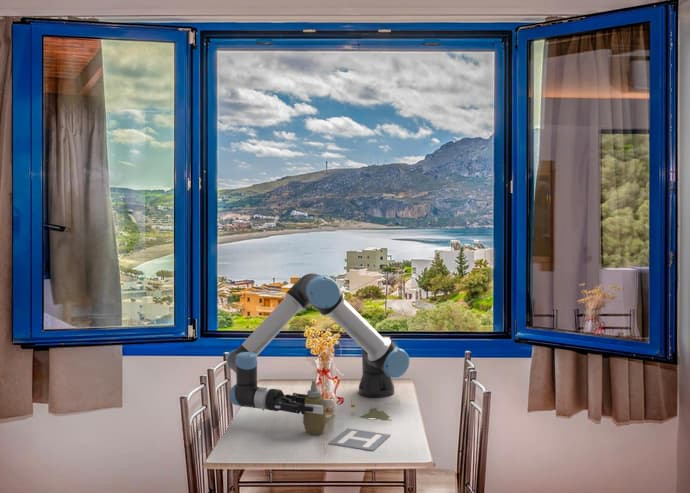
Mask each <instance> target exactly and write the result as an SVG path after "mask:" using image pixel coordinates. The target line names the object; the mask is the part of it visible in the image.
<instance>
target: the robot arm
mask: <svg viewBox="0 0 690 493" xmlns="http://www.w3.org/2000/svg"><path fill="white" fill-rule="evenodd" d="M310 305H311V306H313V307H314V308H315V310H316V311H318V312H319V313H320V314H321V315H322V316H329V317H330V319H332V321H334V322H335V324H337V325H338V326H339V327H340V328H341V329H342V330H343V331H344V332H345V334H348V336H349V337H350V338H351V339H352V340H353V341H355V342H356V343H357V345H359V346H360V347H361V356H362V357H361V359H362V360H361V362H362V363H361V364H362V366H361V367H362V370H361V371H362V373H361V374H362V375H361V378H360V381H359V385H358V393H359V395H361V396H364V397H368V398H386V397H390V396H392V395H394V394H395V385H394V382H393V380H392V379H393V378H395V379H396V378H400V377H402V376H404V374H405V373H406V372H407V371H408V369H409V367H410V356H409V354H408V353H407V352H406V351H405V350H404V349H403V348H400V347H398V345H397V344H395V342H394V341H392V340H391V338H389V337H386V336H385V337H383V336H382V335H381V334H380V333H379V332H378V331H377V330H376V329H375V328H374V327H373V326H372V325H370V323H369V322H368V321H367V320H366V319H365V318H364V317H363V316H362V315H361V314H360V313H359V312H358V311H357V310H356V309H354V307H352V305H351V304H349V302H348V301H346V300H345V293H344V291H343V290H341V289H340V287H339V284H338V282H336V281H335V280H334V279H333V278H331V277H330V276H327V275H321V274H317V273H306V274H304V275H302V276H301V277H300V278H299V279H298V280H297V281H296V282H295V283H293V285H292V286H291V287H290V288H289V289H288V290H287V291H286V293H285V297H284V298H283V300H281V302H280V303H278V305H277V306H276V307H275V308H274V309H273V310H272V311H271V312H270V313H269V314H268V316H266V318H265V319H264V320H262V322H261V323H260V324H259V325H258V326H257V328H255V330H253V332H252V333H250V335H249V336H248V337H247V338H245V340H244V341H243V342H242V344H240V346H239V347H238V348H237V349H233V350H231V351H230V352H229V353H228V355H227V358H226V362H227V365H228V366H229V368H230V369H231V371H233V372H234V373H235V376H236V377H235V378H236V384H234V385H233V386H232V387H231V388H230V393H229V400H230V403H231V404H232V405H235V406H239V407H244V408H252V409H260V410H262V411H266V410H268V411H273V412H279V411H282V412H285V413H286V412H288V413H293V414H301V415H304V411H305V412H309V413H316V414H323V406H321V405H314V404H305V406H304V403H305V398H306V397H308V396H307V394H306V393H305V394H303V393H298V392H293V393H292V394H285V393H284V392H283V390H281V389H280V388H279V389H278V388H271V387H263V386H258V358H257V357H258V356H259V355H260V354H261V352H262V351H263V350H264V349H265V348H266V347H267V346H268V345H269V344H270V343H271V342H272V341H273V340H274V338H275V337H276V336H277V335H278V334H280V332H281V331H282V330H283V329H284V328H285V327H286V325H287V324H288V323H289V322H290V321H291V320H292V319H293V318H294V317H295V316H296V314H298V313H299V311H304V310H305V309H306V308H307V306H310ZM323 399H324V406H325V408H328V409H333V406H334V404H333V403H334V402H333V399H331V398H330V399H328V398H323Z"/></svg>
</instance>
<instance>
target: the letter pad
mask: <svg viewBox="0 0 690 493" xmlns="http://www.w3.org/2000/svg"><path fill="white" fill-rule="evenodd" d="M390 437H391V434H390V433H388V434H387V433H382V432H375V431H368V430H361V429H354V428H350V427H349V428H346V429H345V430H343V431H342V432H341V433H339V434H338V435H337V436H336V437H334V438H333V439H332V440H330V441H329V442H328V445H334V446H338V447H339V446H340V447H345V448H350V449H351V448H352V449H357V450H364V451H369V452H375V450H377V448H379V447H380V446H381V445H382V444H383V443H384V442H385V441H387V439H389V438H390Z"/></svg>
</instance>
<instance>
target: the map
mask: <svg viewBox="0 0 690 493" xmlns="http://www.w3.org/2000/svg"><path fill="white" fill-rule="evenodd" d="M368 410H369V412H367V413H365V414H362V415H359V417H360V418H365V419H368V418H376V419H375V420H381V421H389V422H390V421H392V419H389V418H391V416H389V414H387V413H386V412H385V411H384V410H378V409H377V407H372V408H369V409H368Z"/></svg>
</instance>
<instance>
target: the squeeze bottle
mask: <svg viewBox="0 0 690 493" xmlns="http://www.w3.org/2000/svg"><path fill="white" fill-rule="evenodd" d="M306 392H307V394H306V395H307V396H308V397H306V398H305V403H304V406H305V404H314V405H321V406H323V414H316V413H309V412H305V411H304V414H303V416H302V423H303V427H304V429H305V432H306V434H307V435H312V436H317V435H321V434H323V433H324V431H325V427H326V424H327V416H326V415H327V414H326V409H325V408H326V407H325V406H324V399H325V398H324V397H323V396H322V391H321V390H320V389H318V385H317V382H316V380H314V379H313V380H312V381H311V386H310V389H309V390H307V391H306Z"/></svg>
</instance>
